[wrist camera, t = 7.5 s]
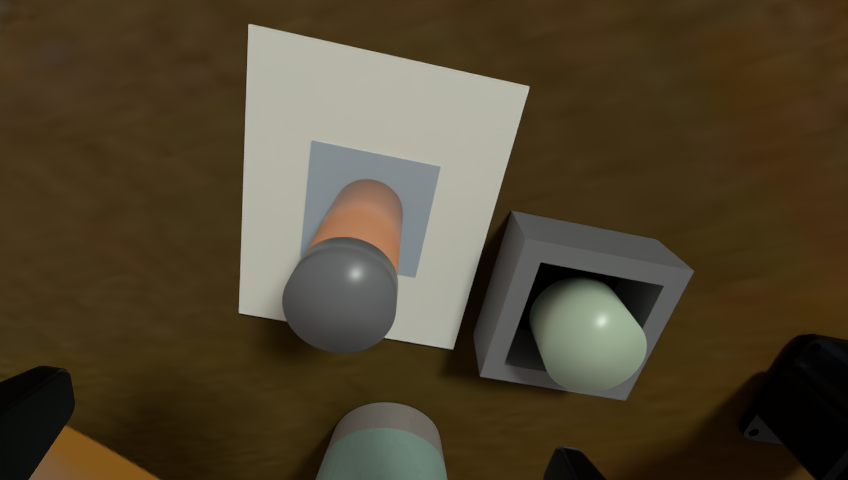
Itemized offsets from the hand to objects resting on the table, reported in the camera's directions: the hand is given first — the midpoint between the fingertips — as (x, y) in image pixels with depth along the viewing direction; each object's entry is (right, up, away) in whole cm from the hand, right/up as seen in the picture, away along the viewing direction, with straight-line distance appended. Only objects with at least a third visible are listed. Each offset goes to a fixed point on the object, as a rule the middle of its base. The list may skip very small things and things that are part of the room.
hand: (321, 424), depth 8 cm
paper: (0, +5, +10) cm, 11 cm away
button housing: (+8, +1, +11) cm, 14 cm away
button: (+8, 0, +9) cm, 12 cm away
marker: (0, +5, +9) cm, 10 cm away
